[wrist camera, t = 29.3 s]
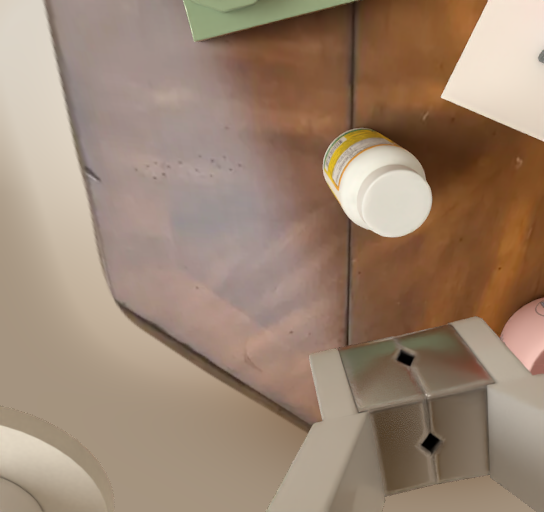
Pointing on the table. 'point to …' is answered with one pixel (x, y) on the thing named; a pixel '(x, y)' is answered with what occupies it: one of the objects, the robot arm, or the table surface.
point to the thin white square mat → (504, 66)
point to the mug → (527, 335)
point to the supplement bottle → (377, 182)
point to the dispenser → (247, 14)
